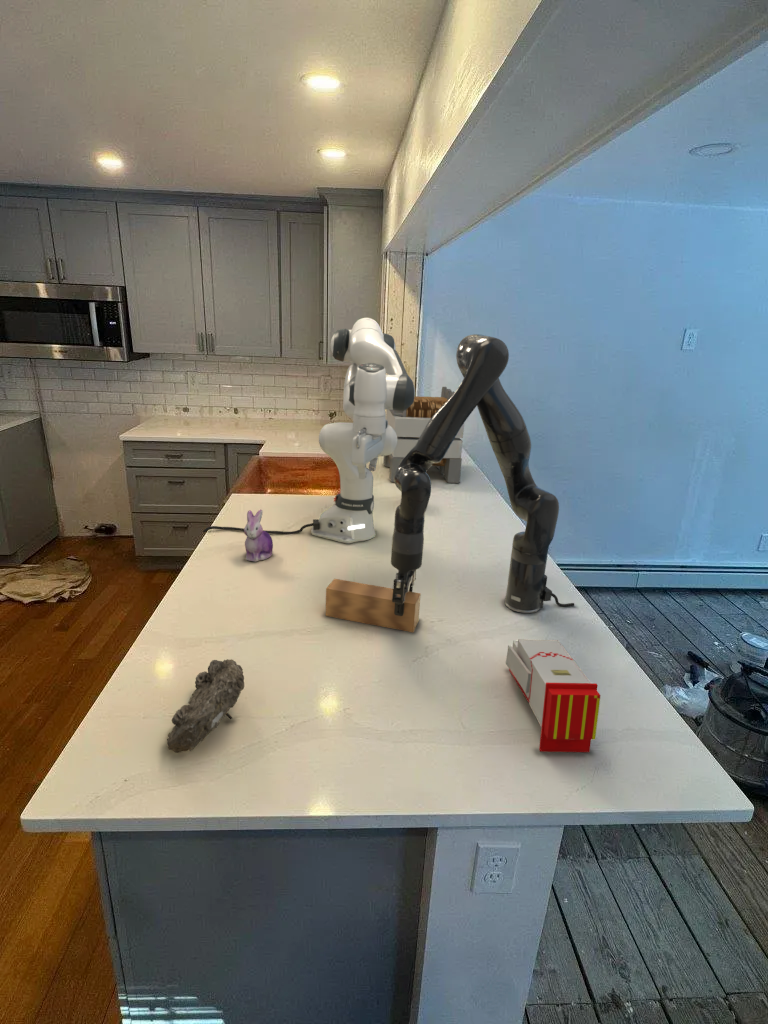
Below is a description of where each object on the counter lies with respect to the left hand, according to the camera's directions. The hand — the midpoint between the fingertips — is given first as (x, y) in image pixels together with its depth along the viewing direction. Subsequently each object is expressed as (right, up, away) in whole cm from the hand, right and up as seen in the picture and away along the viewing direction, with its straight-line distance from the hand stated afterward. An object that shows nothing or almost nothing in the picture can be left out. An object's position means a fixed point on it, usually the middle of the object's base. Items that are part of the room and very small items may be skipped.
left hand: (367, 474), depth 159 cm
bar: (+2, -38, -14) cm, 40 cm away
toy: (+37, -50, -43) cm, 75 cm away
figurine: (-34, -24, +19) cm, 46 cm away
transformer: (+22, +8, +116) cm, 119 cm away
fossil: (-28, -50, -51) cm, 76 cm away
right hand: (+9, -34, -18) cm, 40 cm away
